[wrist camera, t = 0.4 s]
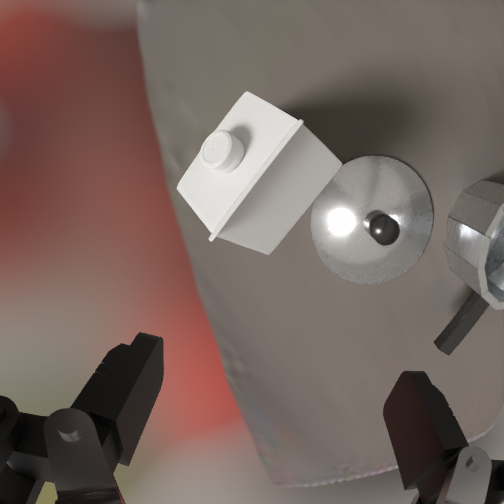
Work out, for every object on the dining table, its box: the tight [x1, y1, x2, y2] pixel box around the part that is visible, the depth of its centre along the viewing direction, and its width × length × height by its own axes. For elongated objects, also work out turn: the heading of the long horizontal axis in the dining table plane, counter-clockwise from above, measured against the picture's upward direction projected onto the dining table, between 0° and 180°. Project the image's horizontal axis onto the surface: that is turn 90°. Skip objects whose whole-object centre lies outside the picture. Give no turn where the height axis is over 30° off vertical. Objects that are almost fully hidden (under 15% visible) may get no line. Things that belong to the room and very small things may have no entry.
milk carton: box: [177, 92, 342, 255], centre depth 23 cm, size 7×7×19 cm
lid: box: [311, 156, 433, 284], centre depth 31 cm, size 15×15×4 cm
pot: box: [434, 180, 504, 355], centre depth 29 cm, size 25×14×8 cm, turn 150°
